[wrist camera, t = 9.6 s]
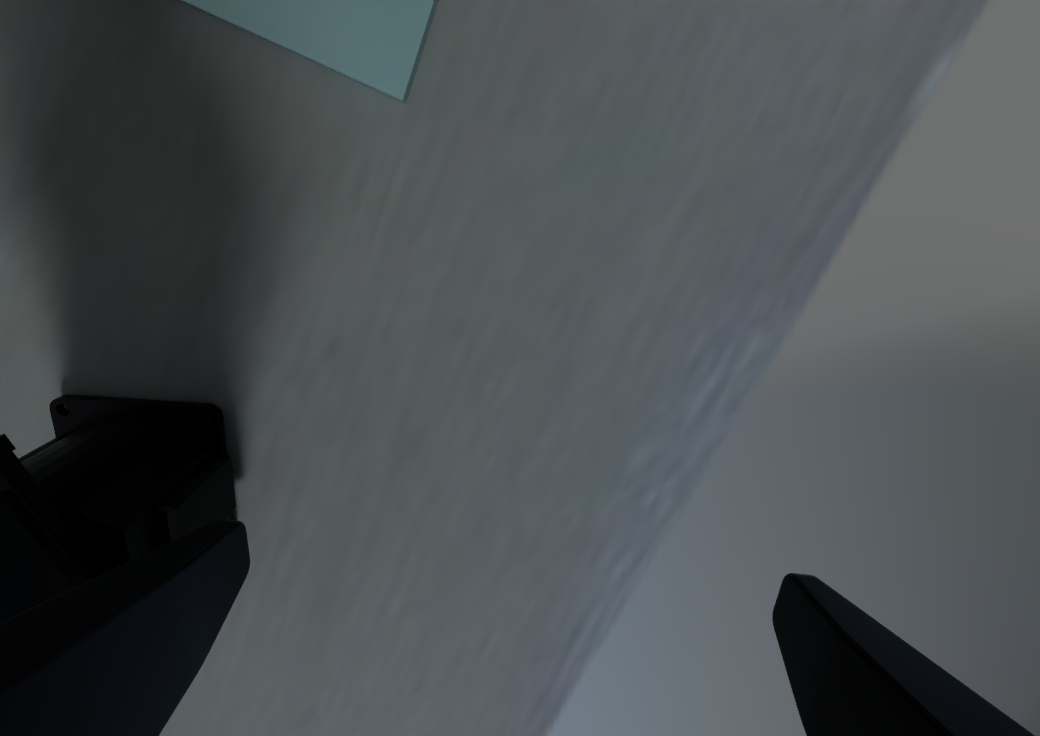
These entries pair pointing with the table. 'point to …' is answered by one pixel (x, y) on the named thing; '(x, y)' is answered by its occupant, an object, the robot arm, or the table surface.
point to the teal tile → (340, 34)
